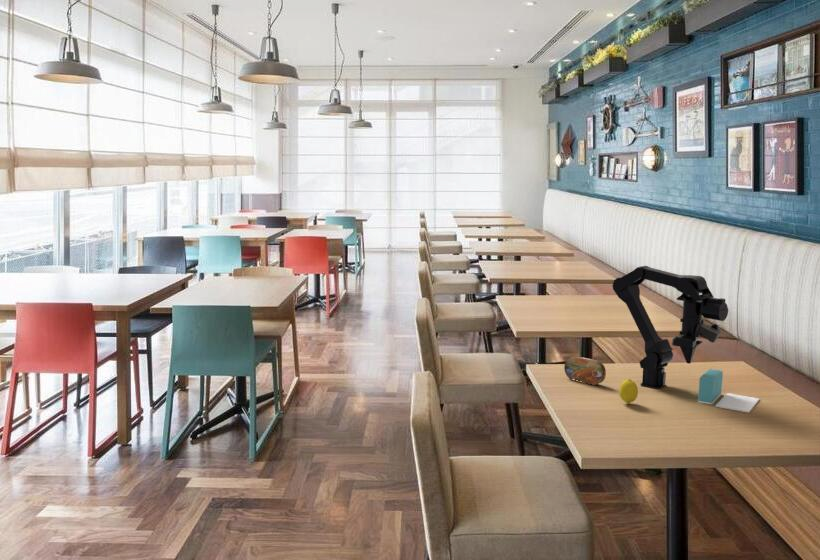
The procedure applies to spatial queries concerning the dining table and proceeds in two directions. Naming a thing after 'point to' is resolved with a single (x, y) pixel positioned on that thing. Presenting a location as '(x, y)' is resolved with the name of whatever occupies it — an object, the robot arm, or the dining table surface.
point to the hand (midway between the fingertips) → (688, 363)
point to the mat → (737, 402)
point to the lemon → (628, 391)
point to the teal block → (710, 386)
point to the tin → (585, 370)
